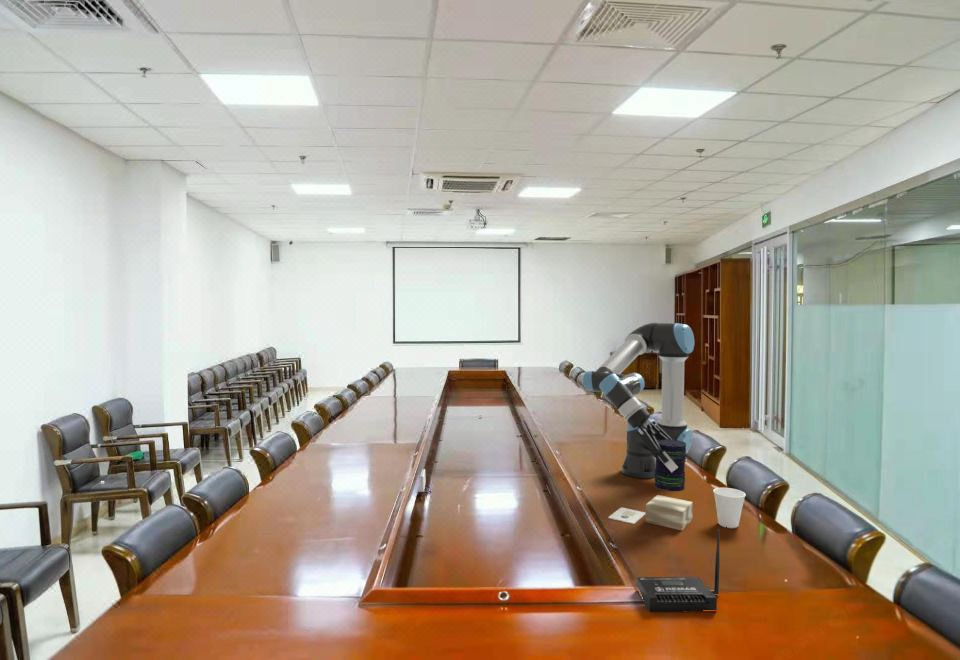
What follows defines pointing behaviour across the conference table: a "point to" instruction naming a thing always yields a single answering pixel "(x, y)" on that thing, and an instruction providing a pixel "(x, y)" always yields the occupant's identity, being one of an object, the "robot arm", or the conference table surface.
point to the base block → (669, 512)
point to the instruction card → (627, 515)
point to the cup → (729, 506)
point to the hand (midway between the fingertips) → (679, 466)
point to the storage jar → (663, 474)
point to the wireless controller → (680, 591)
